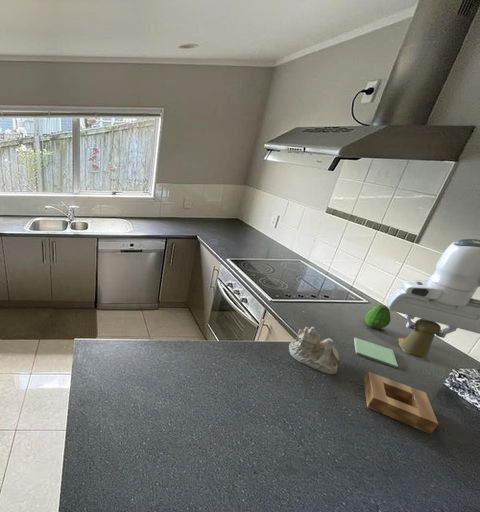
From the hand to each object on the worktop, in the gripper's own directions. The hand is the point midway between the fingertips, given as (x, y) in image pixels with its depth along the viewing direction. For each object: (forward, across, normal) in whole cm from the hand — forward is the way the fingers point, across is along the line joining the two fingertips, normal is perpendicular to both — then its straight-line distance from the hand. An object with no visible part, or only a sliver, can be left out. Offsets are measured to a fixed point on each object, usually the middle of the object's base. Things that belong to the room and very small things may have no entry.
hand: (423, 331), depth 87 cm
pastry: (+25, -10, -36) cm, 45 cm away
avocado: (+25, -1, -47) cm, 53 cm away
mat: (+25, +2, -23) cm, 34 cm away
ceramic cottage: (+25, +22, -3) cm, 33 cm away
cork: (+7, 0, 0) cm, 7 cm away
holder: (+25, 0, +7) cm, 26 cm away
